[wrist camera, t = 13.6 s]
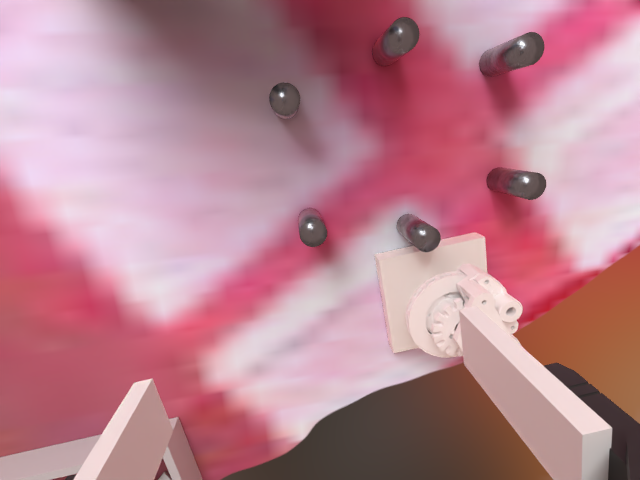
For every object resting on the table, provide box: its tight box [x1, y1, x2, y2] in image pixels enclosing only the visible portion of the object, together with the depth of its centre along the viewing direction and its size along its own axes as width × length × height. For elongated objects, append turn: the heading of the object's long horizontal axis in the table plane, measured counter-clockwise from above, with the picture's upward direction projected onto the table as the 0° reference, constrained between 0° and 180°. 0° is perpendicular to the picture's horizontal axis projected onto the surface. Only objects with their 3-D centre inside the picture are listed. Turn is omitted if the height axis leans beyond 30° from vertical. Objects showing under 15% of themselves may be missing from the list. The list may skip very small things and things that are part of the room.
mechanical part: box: [406, 264, 523, 358], centre depth 42 cm, size 11×12×12 cm
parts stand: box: [374, 232, 487, 353], centre depth 49 cm, size 14×14×2 cm
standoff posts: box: [269, 17, 546, 252], centre depth 41 cm, size 24×28×7 cm
